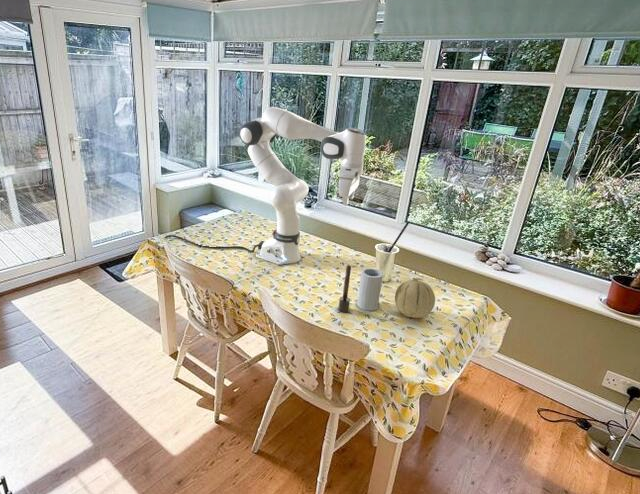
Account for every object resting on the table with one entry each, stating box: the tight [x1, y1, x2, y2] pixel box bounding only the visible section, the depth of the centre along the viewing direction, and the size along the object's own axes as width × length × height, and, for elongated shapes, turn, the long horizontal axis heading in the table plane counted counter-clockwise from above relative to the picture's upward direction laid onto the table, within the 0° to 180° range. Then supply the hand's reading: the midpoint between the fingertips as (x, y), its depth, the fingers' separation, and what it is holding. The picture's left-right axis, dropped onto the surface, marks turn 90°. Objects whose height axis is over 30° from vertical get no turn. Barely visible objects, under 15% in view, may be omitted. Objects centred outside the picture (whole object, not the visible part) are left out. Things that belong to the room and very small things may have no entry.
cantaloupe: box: [394, 277, 436, 319], centre depth 158 cm, size 15×15×15 cm
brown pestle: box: [338, 264, 352, 314], centre depth 160 cm, size 4×4×20 cm
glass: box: [374, 221, 410, 283], centre depth 182 cm, size 11×11×30 cm
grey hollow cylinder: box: [356, 267, 383, 312], centre depth 164 cm, size 8×8×15 cm
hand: (348, 201), depth 173 cm, fingers open, 8 cm apart
